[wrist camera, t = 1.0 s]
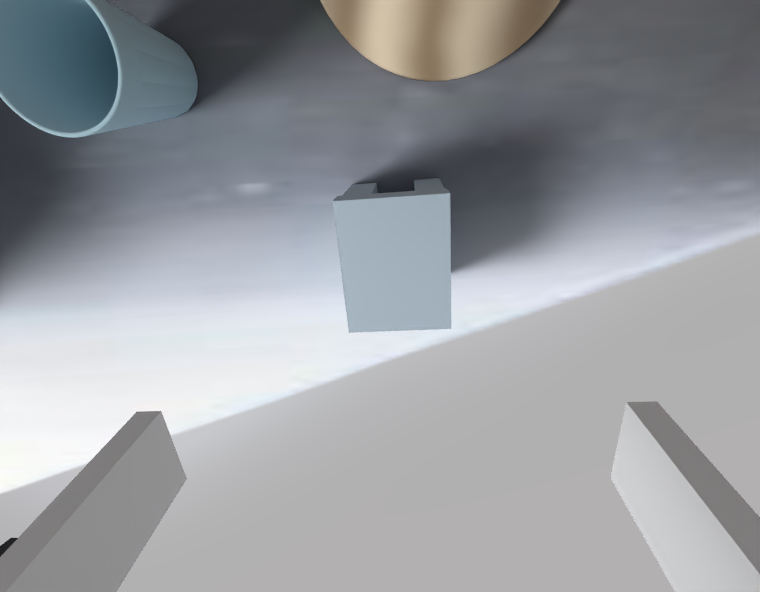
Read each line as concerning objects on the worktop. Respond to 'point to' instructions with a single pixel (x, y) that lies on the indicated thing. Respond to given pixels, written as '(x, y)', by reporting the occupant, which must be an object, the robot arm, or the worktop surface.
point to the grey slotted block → (395, 257)
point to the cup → (89, 67)
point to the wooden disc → (437, 33)
